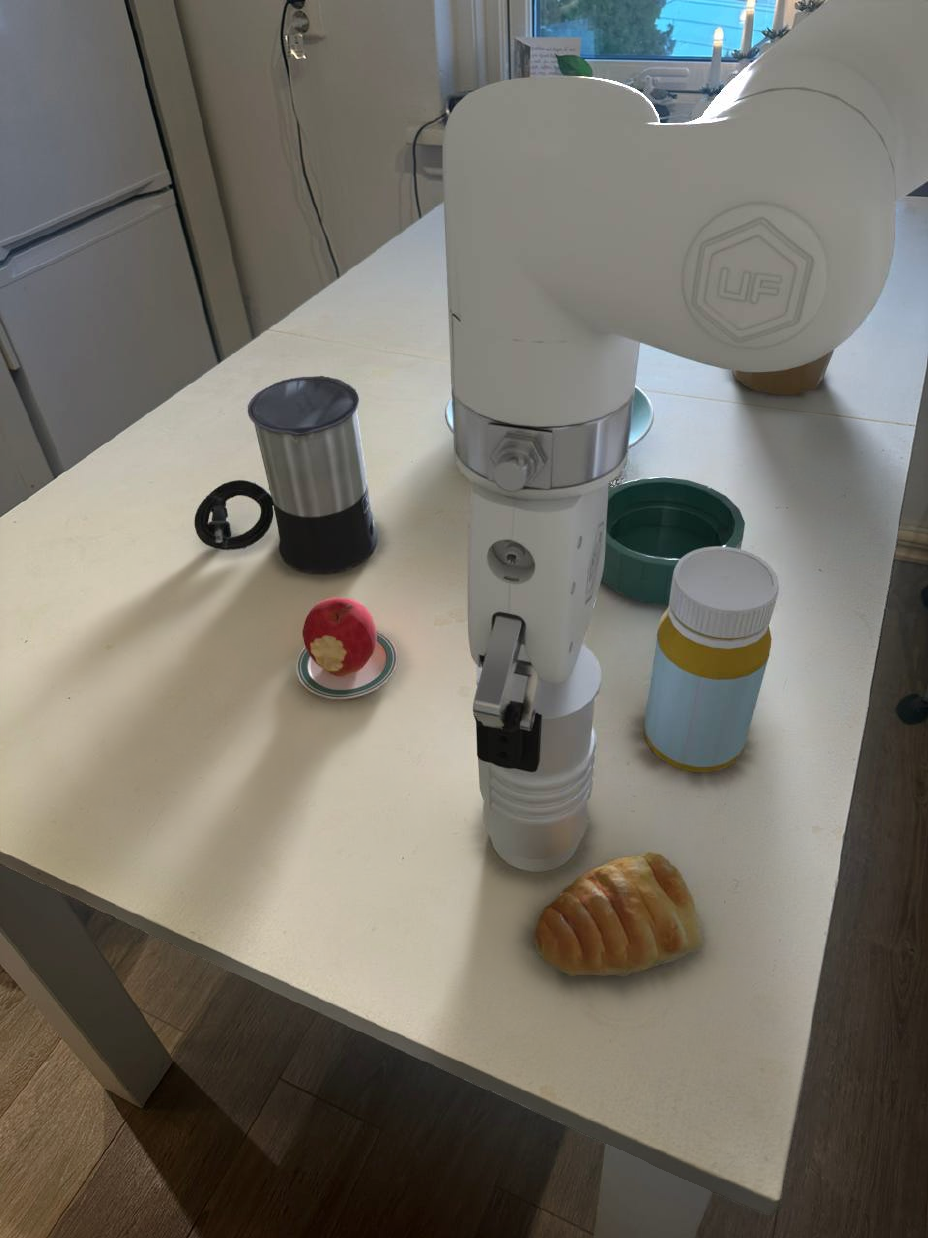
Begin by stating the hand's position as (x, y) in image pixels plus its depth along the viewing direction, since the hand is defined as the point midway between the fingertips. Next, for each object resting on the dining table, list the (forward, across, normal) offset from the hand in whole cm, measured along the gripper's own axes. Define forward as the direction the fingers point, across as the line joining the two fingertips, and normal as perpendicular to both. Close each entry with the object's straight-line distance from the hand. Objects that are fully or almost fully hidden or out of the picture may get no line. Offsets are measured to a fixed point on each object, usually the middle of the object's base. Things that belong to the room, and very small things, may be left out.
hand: (531, 695), depth 49 cm
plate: (+13, +50, +10) cm, 53 cm away
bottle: (+13, +11, -10) cm, 19 cm away
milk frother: (+14, +25, +30) cm, 41 cm away
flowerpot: (+13, +69, -12) cm, 71 cm away
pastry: (+13, -5, -7) cm, 16 cm away
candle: (+13, 0, 0) cm, 13 cm away
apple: (+14, +11, +18) cm, 25 cm away
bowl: (+13, +30, -4) cm, 33 cm away
